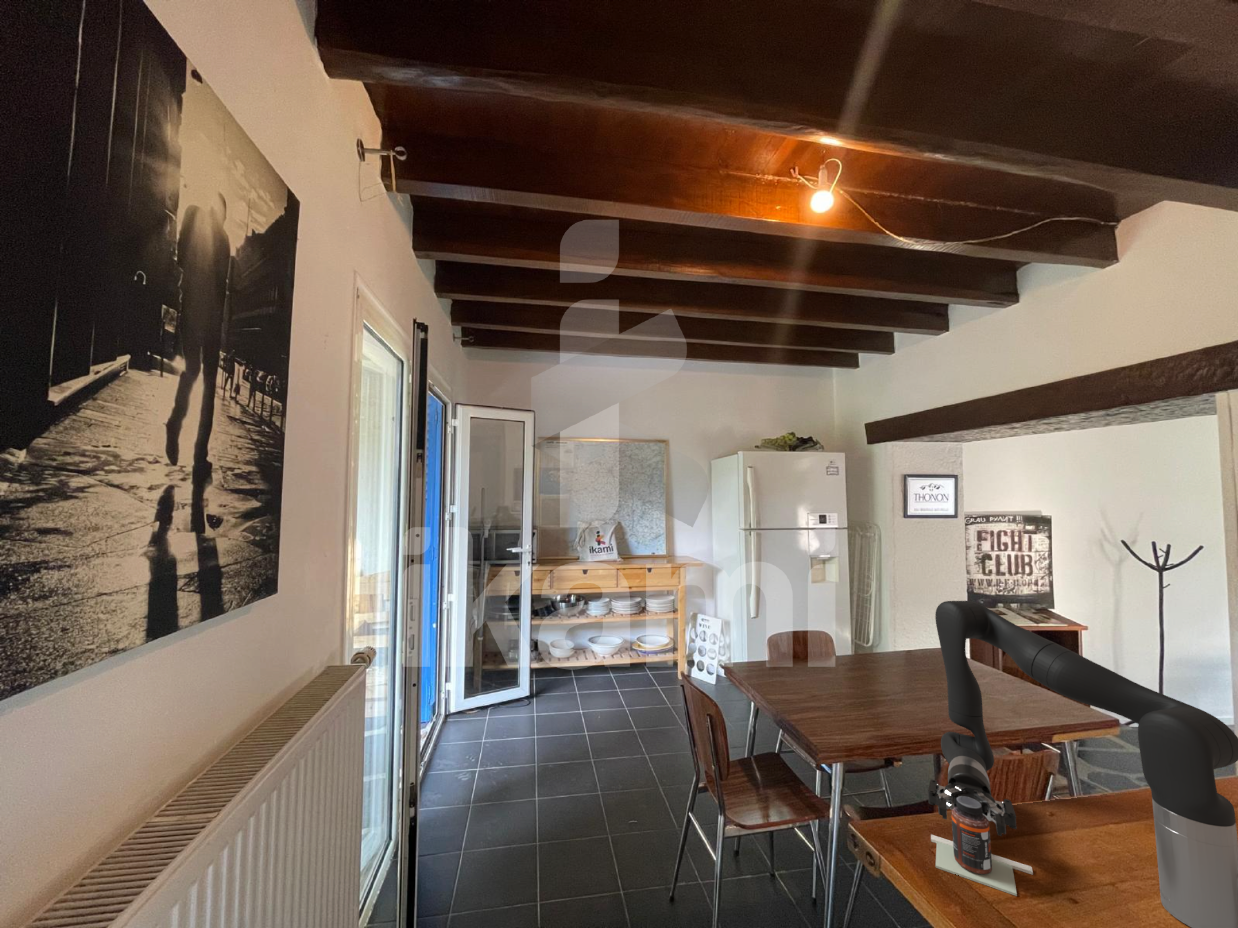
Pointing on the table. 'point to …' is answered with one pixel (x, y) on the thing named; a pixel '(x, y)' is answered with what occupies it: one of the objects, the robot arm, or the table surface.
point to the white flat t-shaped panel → (996, 878)
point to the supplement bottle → (971, 836)
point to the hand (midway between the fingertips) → (971, 821)
